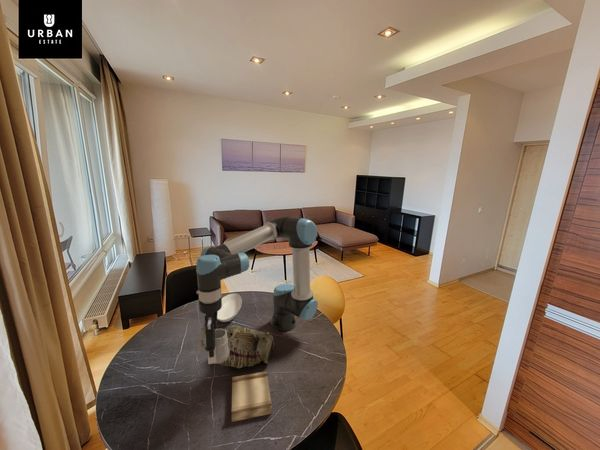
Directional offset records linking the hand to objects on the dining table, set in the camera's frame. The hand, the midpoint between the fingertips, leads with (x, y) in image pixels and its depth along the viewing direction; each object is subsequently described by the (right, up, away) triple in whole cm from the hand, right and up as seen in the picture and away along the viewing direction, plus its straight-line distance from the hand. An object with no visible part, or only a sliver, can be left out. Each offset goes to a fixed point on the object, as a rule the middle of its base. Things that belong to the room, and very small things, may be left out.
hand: (213, 354), depth 91 cm
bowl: (-11, -7, +59) cm, 61 cm away
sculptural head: (+7, -15, +23) cm, 29 cm away
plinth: (+13, -19, +4) cm, 23 cm away
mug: (0, -1, +1) cm, 2 cm away
